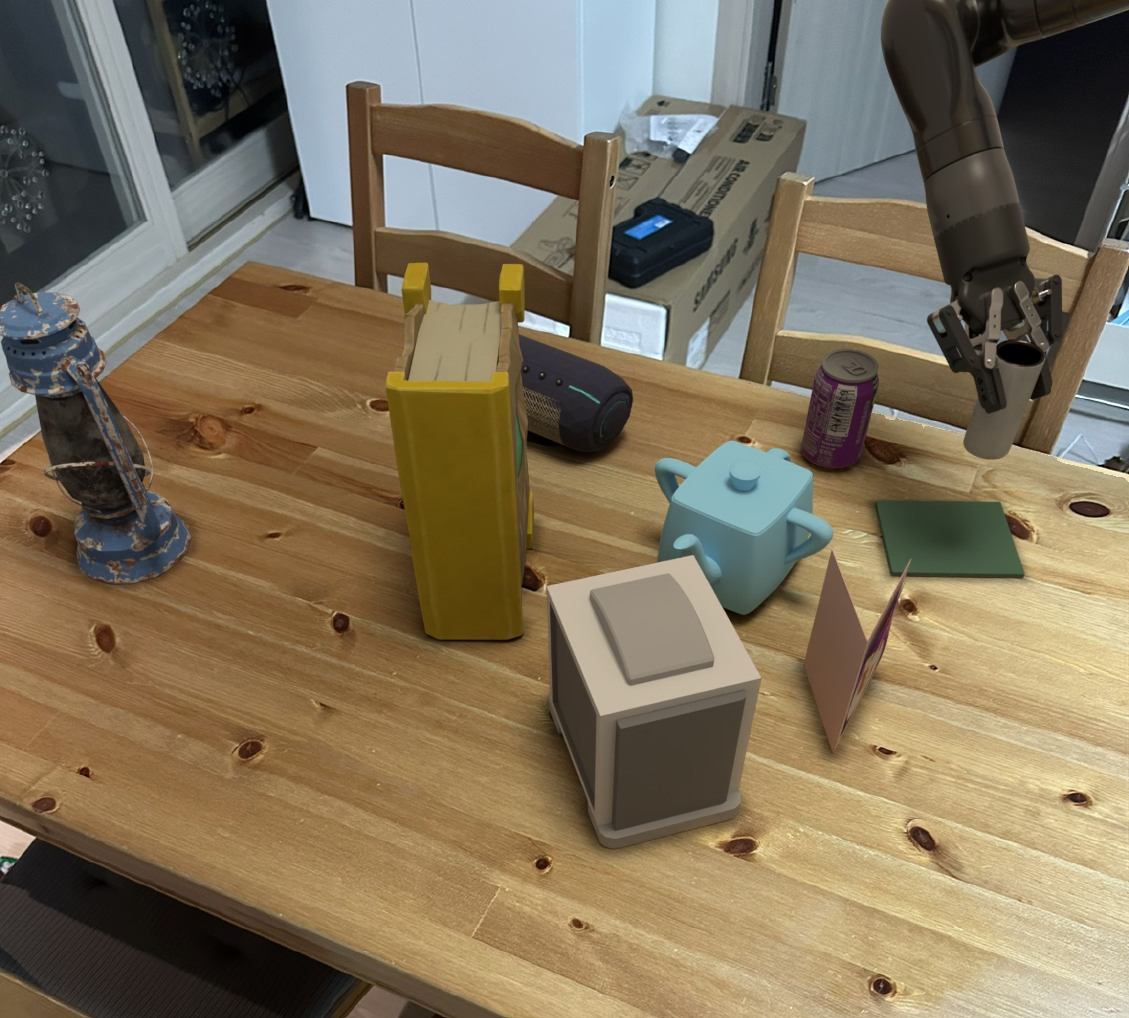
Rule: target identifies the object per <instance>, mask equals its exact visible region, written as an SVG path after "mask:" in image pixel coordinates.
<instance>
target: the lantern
mask: <svg viewBox="0 0 1129 1018" xmlns="http://www.w3.org/2000/svg"><path fill="white" fill-rule="evenodd" d="M14 288H15V291H16V294H14V297H13V299H11V300H9V301H7V302H6V303H4V304H2V306H0V337H2V338H1V340H0V344H1V345H0V346H1V349H2V352H3V354H4V356H5V360H6V365H7V368H8V370H9V372H8V377H9V381H10V384H11V386H13V387H14V388H15V389H16V390H18V391H19V392H21V393H24V394H29V395H33V396H34V397H35V398H34V399H35V403H36V410H37V414H38V415H37V416H38V420H39V426H40V432H41V438H42V441H43V444H44V447H45V450H46V452H47V455H48V461H49V467H47V468H45V469H44V470H43V475H44V477H45V478H48V479H49V480H53V481H55V483H56V485H57V487H58V488H59V490H60V492H61V494H63V496H64V497H66V498H67V499H68V500H69V501H70V502H72V503H74V504H76V505H77V506H80V507H81V509H82V510H80V512H79V513H78V514H77V516H76V518H75V521H74V523H73V526H72V530H73V532H74V536H75V539H76V542H77V549H76V554H75V555H76V559H77V563H78V566H79V570H80V571H82V572H83V573H84V574H85V575H86V576H88V577H89V578H90V579H91V580H94V581H97V582H101V583H104V584H105V583H106V584H108V585H125V584H127V585H128V584H129V585H130V584H137V583H140V582H143V581H146V580H150V579H154V578H157V577H159V576H160V575H162V574H163V573H165V572H167V571H168V570H170V569H172V568H174V567H175V566H176V565H177V564H178V563H179V562H180V561H181V560H182V558H183V557H185V555H186V554H187V553H188V552H189V548H190V544H191V540H192V538H193V537H192V534H191V531H190V528H189V525H188V523H187V522H185V521H184V520H183V519H182V518H180V517H179V516H178V515H176V514H175V513H174V510H173V507H172V505H171V503H170V501H169V500H168V499H167V498H165V496H162V494H160V493H159V492H156V491H151V490H150V489H151V486H152V482H153V479H154V465H153V459H152V457H151V453H150V450H149V447H148V445H147V443H146V441H145V439H144V437H143V435H142V433H141V432H140V431H139V430H138V428H137V427H136V426H135V424H134V423H133V421H131V420H130V419H129V418H127V417H126V416H125V415H124V414H123V413H122V412H121V411H120V409H119V408H118V407H117V406H116V404H115V403H114V401H113V400H112V398H111V397H110V395H109V394H108V393H107V391H106V390H105V388H104V387H103V386H102V385H101V383H100V382H99V380H98V379H97V378H98V377H99V376H100V375H101V374H103V372H104V370H105V368H106V365H107V363H108V362H107V361H108V360H107V358H106V355H105V353H104V351H103V350H102V349H101V348H99V347H98V345H97V342H96V340H95V338H94V336H92V335H91V333H90V331H89V328H88V326H87V323H86V322H85V321H84V320H82V319H81V318H80V317H78V316H79V315H80V312H81V308H80V305H79V302H78V301H77V300H76V299H74V298H73V297H71V296H70V295H68V294H64V293H59V292H55V291H53V292H52V291H51V292H49V291H48V292H33V291H32V290H31V288H28V287H27V286H26V285H24V284H22V283H21V282H15V283H14ZM23 292H24V293H26V294H24V293H23ZM129 424H131V426H132V427H133V428H134V430H135V431H136V433H138V436H140V438H141V440H142V443H143V445H144V447H145V448H146V452H147V455H148V459H149V462H150V468H149V467H147V466H146V463H145V458H144V453H143V451H142V449H141V446H140V445H139V443H138V441H137V439H136V437H135V435H134V434H133V432H132V430H131V427H130V426H129ZM50 472H51V473H52V474H49V473H50ZM147 476H150V479H149V482H148V485H147V487H146V485H145V483H144V480H145V477H147ZM60 484H61V485H60ZM62 487H63V488H64V489H65V491H66V492H67V493H65V491H64V490H63V488H62ZM67 494H68V495H67ZM73 499H74V500H73ZM75 500H76V501H75Z"/></svg>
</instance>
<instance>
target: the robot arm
mask: <svg viewBox="0 0 1129 1018" xmlns="http://www.w3.org/2000/svg"><path fill="white" fill-rule="evenodd" d="M1126 11H1129V0H887V1H886V4H885V6H884V9H883V11H882V16H881V19H880V26H879V27H880V28H879V29H880V30H879V33H880V34H879V36H880V37H879V39H880V46H881V52H882V56H883V61H884V65H885V68H886V70H887V74H888V76H889V79H890V81H891V84H892V87H893V89H894V91H895V94H896V96H897V100H898V101H899V105H900V106H901V109H902V111H903V113H904V115H905V118H906V120H907V123H908V125H909V127H910V130H911V133H912V137H913V143H914V150H915V154H916V159H917V163H918V168H919V170H920V175H921V178H922V183H923V188H924V195H925V204H926V211H927V216H928V220H929V225H930V228H931V233H932V236H933V241H934V245H935V249H936V253H937V257H938V261H939V266H940V270H941V274H942V278H943V281H944V283H945V284H946V285H947V286H950V299H949V303H948V304H946V305H945V306H943V307H941V308H939V309H937V310H935V311H933V312H931V313H929V314H928V315H927V317H926V323H927V325H928V328H929V329H930V331H931V332H932V335H933V337H934V339H935V340H936V341H935V342H936V343H937V345H938V347H939V348H940V350H941V352H942V355H943V357H944V358H945V360H946V363H947V364H948V366H949V368H950V370H951V372H952V373H954V374H959V373H965V374H969V375H970V376H972V378H973V381H974V385H975V389H976V393H977V398H978V397H979V402H980V405H981V406H982V408H983V409H985V412H986V413H988V414H990V413H993V412H996V411H999V410H1002V409H1005V408H1006V406H1007V401H1006V397H1005V393H1004V389H1003V385H1002V380H1001V376H1000V372H999V369H998V368H995V369H994V367H995V365H996V345H997V344H998V343H999V341H1000V339H1001V332H1003V335H1004V336H1005V338H1006V340H1011V339H1019V340H1025V341H1029V342H1031V343H1034V344H1036V345H1037V346H1039V347H1040V348H1041V349H1042V350H1043V351H1044V353H1045V361H1044V364H1043V366H1042V369H1041V371H1040V374H1039V377H1038V379H1037V382H1036V384H1035V387H1034V389H1033V392H1032V395H1031V397H1030V400H1031V401H1034V400H1037V399H1040V398H1043V397H1046V396H1049V395H1050V394H1051V393H1052V388H1053V378H1052V373H1051V369H1050V364H1049V361H1048V356H1047V352H1048V350H1049V348H1050V347H1051V346H1052V345H1053V344H1054V343H1056V342H1058V341H1060V340H1062V338H1063V279H1062V277H1061V276H1060V275H1059V274H1053V275H1052V276H1049V277H1047V278H1045V277H1035V275H1034V273H1033V272H1032V270H1031V269H1030V267H1029V265H1028V262H1027V258H1028V255H1029V253H1030V250H1031V246H1030V242H1029V238H1028V233H1027V229H1026V225H1025V219H1024V216H1023V215H1024V214H1023V212H1022V207H1021V203H1020V198H1019V194H1018V190H1017V185H1016V182H1015V176H1014V173H1013V170H1012V167H1011V165H1010V163H1009V159H1008V157H1007V155H1006V151H1005V149H1004V148H1005V147H1004V143H1003V142H1004V141H1003V138H1002V134H1001V129H1000V126H999V125H1000V124H999V121H998V117H997V113H996V109H995V106H994V102H993V100H992V98H991V96H990V93H989V92H988V90H987V89H986V88H985V87H984V85H983V84H982V82H981V81H980V79H979V77H978V74H977V71H976V68H977V67H980V66H982V65H984V64H986V63H988V62H990V61H992V60H994V59H997V58H998V57H1001V56H1003V55H1004V54H1006V53H1009V52H1010V51H1012V50H1014V49H1016V48H1017V47H1019V46H1021V45H1024V44H1026V43H1031V42H1035V41H1039V40H1042V39H1046V38H1049V37H1052V36H1055V35H1058V34H1061V33H1065V32H1067V31H1071V30H1074V29H1076V28H1079V27H1082V26H1085V25H1088V24H1091V23H1094V22H1097V21H1100V20H1103V19H1107V18H1109V17H1111V16H1114V15H1117V14H1121V13H1123V12H1126ZM962 321H963V322H964V326H963V324H962Z"/></svg>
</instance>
